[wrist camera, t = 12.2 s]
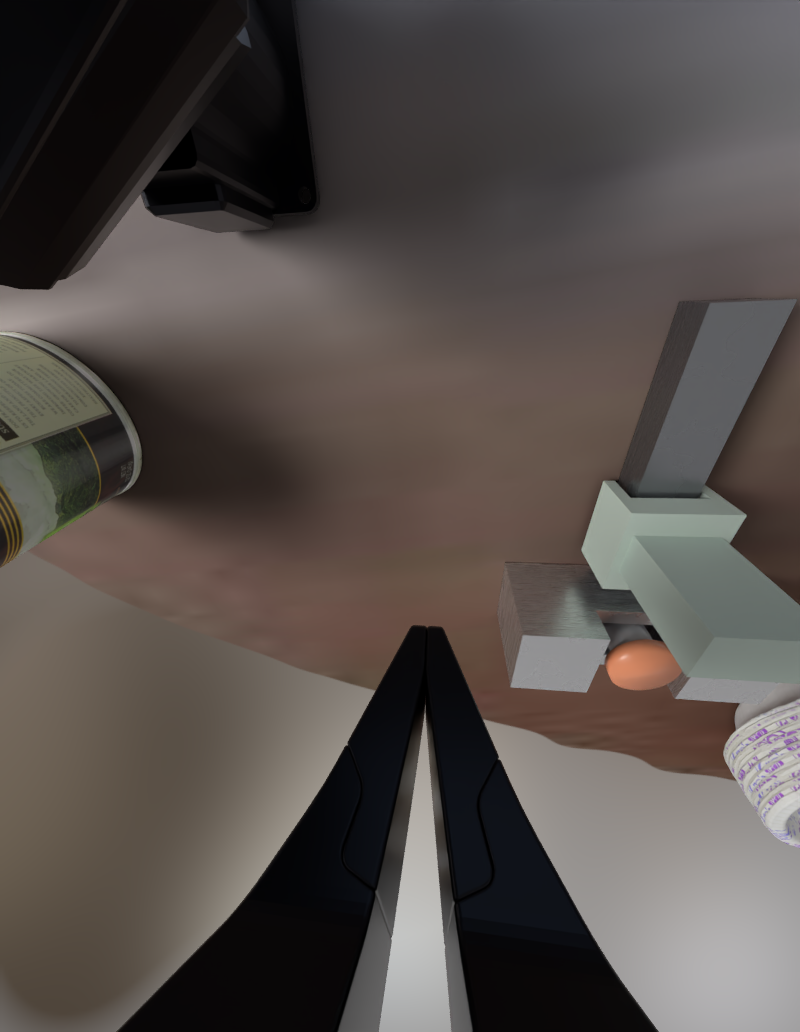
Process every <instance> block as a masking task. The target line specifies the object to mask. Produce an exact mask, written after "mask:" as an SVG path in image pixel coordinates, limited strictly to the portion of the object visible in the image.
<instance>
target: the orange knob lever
mask: <svg viewBox="0 0 800 1032" xmlns="http://www.w3.org/2000/svg"><path fill="white" fill-rule="evenodd" d="M603 625H604V627H605V630H606V632H607V634H608V636H609V638H610V642H609V645H608V648H609V650H610V652H609V653H608V654H607V656H606V657H605V661H604V664H605V667H606V669H607V671H608V674H609V676H610V678H611V680H612V682H613V683H614V684H616V685H617V686H619V687H622V688H625V689H629V690H649V689H654V688H658V687H661V686H664V685H666V684H669V683H670V682H672V681H674V680H675V679H676V678H677V677H678V676H679V675H680V674H681V672H682V669H681V668H680V666H679V665H678V663H677V661H676V660H675V658H674V657H673V655H672V654H671V652H670V651H669V649H668V647H667V646H666V644H665V643H664V642H661V641H658V640H653V639H652V637H651V636H650V634H649V632H648V631H647V629H646V628H645V626H644V625H641V624H620V623H603Z"/></svg>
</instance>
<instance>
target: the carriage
mask: <svg viewBox="0 0 800 1032" xmlns="http://www.w3.org/2000/svg"><path fill="white" fill-rule="evenodd" d="M746 516H747V515H746V514H745V513H743V512H742V511H740V510H739V509H738V508H736V507H735V506H734V505H732V504H731V503H729V502H728V501H727V500H725V499H724V498H723V497H721V496H720V495H718V494H717V493H716V492H714V491H713V490H712V489H710V488H709V487H707V486H706V485H704V487H703V489H702V491H701V493H700V495H699V497H698V499H688V498H630V497H629V496H628V494H627V493H626V492H625V491H624V490H623V489H622V488H621V487H620V486H619V485H618V484H617V483H616V482H615V481H603V484H602V487H601V490H600V493H599V496H598V499H597V503H596V506H595V509H594V512H593V515H592V518H591V522H590V525H589V528H588V531H587V534H586V537H585V540H584V544H583V547H582V550H581V551H582V553H583V554H584V556H585V558H586V560H587V562H588V563H589V565H590V567H591V569H592V571H593V573H594V574H595V576H596V578H597V580H598V582H599V584H600V585H601V587H602V589H620V590H631V591H632V593H633V594H634V596H635V597H636V599H637V601H638V602H639V604H640V605H641V607H642V608H643V610H644V611H645V613H646V615H647V616H648V618H649V619H650V621H651V622H652V624H653V626H654V627H655V629H656V630H657V632H658V633H659V635H660V636H661V638H662V640H663V641H664V643H665V644H666V646H667V647H668V649H669V651H670V652H671V654H672V655H673V657H674V658H675V660H676V661H677V663H678V665H679V666H680V668H681V669H682V671H683V672H684V674H685V676H686V677H696V678H712V679H728V680H744V681H760V682H775V683H791V684H800V605H799V604H798V603H796V602H795V601H794V600H793V599H792V598H791V597H790V596H788V595H787V594H786V593H785V592H784V591H783V590H782V589H780V588H779V587H778V586H777V585H776V584H775V583H773V582H772V581H771V580H770V579H769V578H768V577H767V576H765V575H764V574H763V573H762V572H761V571H760V570H759V569H757V568H756V567H755V566H754V565H753V564H752V563H751V562H749V561H748V560H747V559H746V558H745V557H744V556H742V555H741V554H740V553H739V552H738V551H737V550H736V549H734V548H733V547H732V546H731V545H730V542H731V541H732V539H733V537H734V536H735V534H736V533H737V531H738V529H739V528H740V526H741V524H742V523H743V521H744V519H745V518H746Z"/></svg>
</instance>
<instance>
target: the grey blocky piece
mask: <svg viewBox="0 0 800 1032" xmlns="http://www.w3.org/2000/svg"><path fill="white" fill-rule="evenodd" d="M497 614H498V620H499V626H500V631H501V637H502V643H503V648H504V654H505V659H506V665H507V671H508V676H509V682H510V687H515V688H530V689H544V690H559V691H573V692H587V690H588V688H589V686H590V684H591V681H592V679H593V677H594V675H595V673H596V671H597V668H598V666H599V664H604V661H605V657H606V656H607V654H608V653H609V652H610V650H609V648H608V645H609V642H610V638H609V636H608V634H607V632H606V630H605V627H604V625H603V623H620V624H641V625H644V626H645V628H646V629H647V631H648V632H649V634H650V636H651V637H652V639H653V640H658V641H661V642H664V641H663V640H662V638H661V636H660V635H659V633H658V632H657V630H656V629H655V627H654V626H653V624H652V622H651V621H650V619H649V618H648V616H647V615H646V613H645V611H644V610H643V608H642V607H641V605H640V604H639V602H638V601H637V599H636V597H635V596H634V594H633V593H632V591H631V590H620V589H602V587H601V585H600V584H599V582H598V580H597V578H596V576H595V574H594V573H593V571H592V569H591V567H590V565H572V564H541V563H509V562H505V567H504V573H503V579H502V585H501V591H500V597H499V603H498V609H497ZM779 684H780V683H775V682H760V681H744V680H728V679H712V678H696V677H686V676H685V674H684V672H683V671H682V672H681V674H680V675H679V676H678V677H677V678H676V679H675V680H674V681H672V682H670V683H669V684H667V686H668V687H669V689H670V691H671V692H672V694H673V696H674V698H675V699H688V700H703V701H717V702H732V703H746V704H760V703H761V702H762V701H763V700H764V699H765V698H766V697H767V696H768V695H769V694H770V693H771V692H772V691H773V690H774V689H775V688H776V687H777V686H778V685H779Z"/></svg>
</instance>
